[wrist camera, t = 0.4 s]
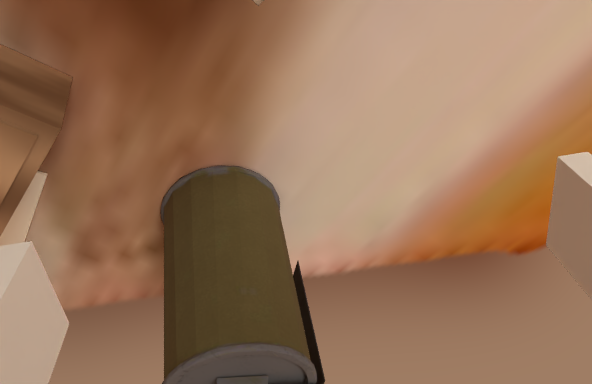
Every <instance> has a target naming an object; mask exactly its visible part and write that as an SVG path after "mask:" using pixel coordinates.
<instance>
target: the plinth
mask: <svg viewBox="0 0 592 384" xmlns="http://www.w3.org/2000/svg"><path fill="white" fill-rule="evenodd" d="M72 79H73V77H71V76H69V75H67V74H64V73H62V72H60V71H58V70H56V69H53V68H51V67H49V66H47V65H45V64H43V63H40V62H38V61H36V60H34V59H32V58H30V57H27V56H25V55H23V54H21V53H19V52H16V51H14V50H12V49H10V48H8V47H6V46H3V45H1V44H0V236H1V234H2V233H3V231H4V229H5V227H6V226H7V224H8V222H9V220H10V219H11V217H12V215H13V213H14V211H15V210H16V208H17V206H18V204H19V203H20V201H21V199H22V197H23V196H24V194H25V192H26V190H27V189H28V187H29V185H30V183H31V182H32V180H33V178H34V176H35V175H36V173H37V171H38V169H39V168H40V166H41V164H42V162H43V161H44V159H45V157H46V155H47V153H48V152H49V150H50V148H51V146H52V145H53V143H54V141H55V139H56V138H57V136H58V134H59V132H60V131H61V128H62V124H63V119H64V115H65V110H66V106H67V101H68V97H69V92H70V88H71V83H72Z"/></svg>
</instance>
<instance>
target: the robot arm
mask: <svg viewBox="0 0 592 384" xmlns="http://www.w3.org/2000/svg"><path fill="white" fill-rule="evenodd" d="M546 246H547V247H548V248H549V249H550V250H551V252H552V253H553V254H554V255H555V256H556V258H557V259H558V260H559V261H560V263H561V264H562V265H563V266H564V267H565V268H566V270H567V271H568V272H569V273H570V275H571V276H572V277H573V278H574V279H575V281H576V282H577V283H578V284H579V285H580V287H581V288H582V289H583V290H584V291H585V293H586V294H587V295H588V296H589V297H590V299H591V300H592V155H591V154H590V153H589V152H584V153H577V154H571V155H565V156H559V157H558V159H557V166H556V174H555V181H554V189H553V197H552V204H551V212H550V219H549V227H548V234H547V242H546ZM68 326H69V322H68V319H67V317H66V315H65V313H64V311H63V308H62V306H61V304H60V302H59V300H58V297H57V295H56V293H55V291H54V289H53V286H52V284H51V282H50V280H49V278H48V275H47V273H46V271H45V269H44V267H43V264H42V262H41V260H40V258H39V256H38V253H37V251H36V249H35V247H34V245H33V242H32V241H29V242H22V243H16V244H10V245H4V246H0V384H48V383H49V380H50V377H51V374H52V371H53V369H54V366H55V363H56V360H57V357H58V355H59V351H60V349H61V346H62V343H63V340H64V337H65V335H66V332H67V329H68Z"/></svg>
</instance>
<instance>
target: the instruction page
mask: <svg viewBox="0 0 592 384" xmlns="http://www.w3.org/2000/svg"><path fill="white" fill-rule="evenodd" d="M47 174H48V173H44V172H40V171H37V173H36V175H35V176H34V178H33V180H32V182H31V183H30V185H29V187H28V189H27V190H26V192H25V194H24V196H23V197H22V199H21V201H20V203H19V204H18V206H17V208H16V210H15V211H14V213H13V215H12V217H11V219H10V220H9V222H8V224H7V226H6V227H5V229H4V231H3V233H2V234H1V236H0V246H4V245H10V244H16V243H22V242H24V241H25V238H26V236H27V233H28V230H29V227H30V224H31V221H32V218H33V215H34V212H35V209H36V206H37V203H38V201H39V198H40V195H41V192H42V189H43V186H44V183H45V180H46V177H47Z"/></svg>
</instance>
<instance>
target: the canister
mask: <svg viewBox="0 0 592 384" xmlns="http://www.w3.org/2000/svg"><path fill="white" fill-rule="evenodd" d="M279 211H280V201H279V196H278V194H277V192H276V190H275V188H274V187H273V185H272V184H271V183H270V182H269V181H268V180H267V179H266V178H264V177H263V176H261V175H260V174H258V173H256V172H254V171H251V170H248V169H245V168H242V167H239V166H214V167H209V168H204V169H199V170H197V171H195V172H193V173H190V174H188V175H186V176H184V177H182V178H180V179H179V180H178V181H177V182H176V183H175V184H174V185H173V186H172V187H171V188H170V189H169V191H168V192H167V194H166V195H165V196H164V198H163V202H162V205H161V219H162V222H163V224H164V381H163V383H162V384H324V382H325V378H324V373H323V369H322V365H321V360H320V356H319V351H318V347H317V343H316V338H315V333H314V329H313V324H312V320H311V316H310V311H309V306H308V302H307V298H306V293H305V289H304V285H303V280H302V275H301V271H300V266H299V262H298V261H297V265H296V268H295V271H294V274H292V269H291V265H290V260H289V255H288V250H287V246H286V241H285V236H284V231H283V227H282V222H281V217H280V212H279ZM295 288H296V289H295ZM299 307H300V308H299ZM303 326H304V327H303ZM304 331H305V332H304ZM307 345H308V346H307ZM308 350H309V351H308Z"/></svg>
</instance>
